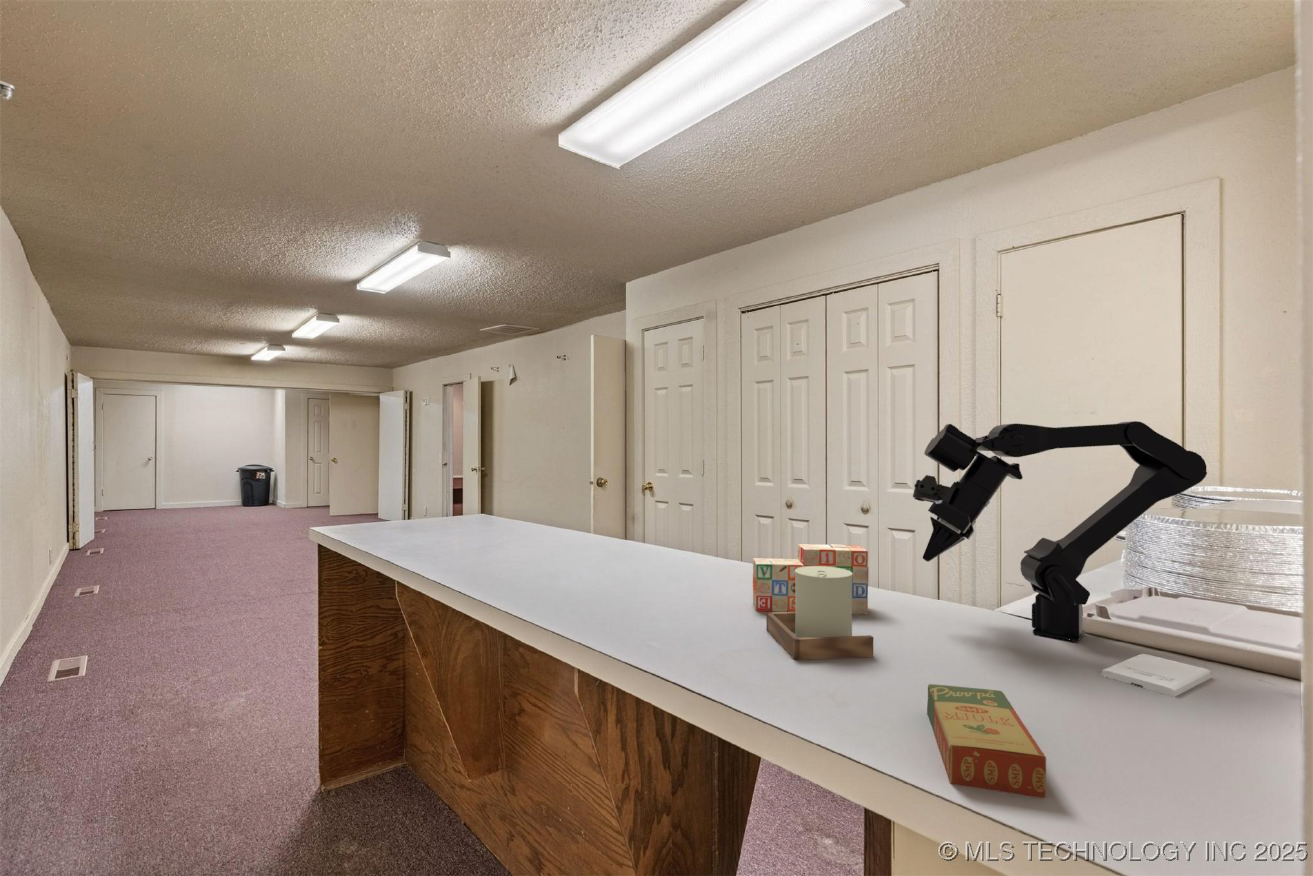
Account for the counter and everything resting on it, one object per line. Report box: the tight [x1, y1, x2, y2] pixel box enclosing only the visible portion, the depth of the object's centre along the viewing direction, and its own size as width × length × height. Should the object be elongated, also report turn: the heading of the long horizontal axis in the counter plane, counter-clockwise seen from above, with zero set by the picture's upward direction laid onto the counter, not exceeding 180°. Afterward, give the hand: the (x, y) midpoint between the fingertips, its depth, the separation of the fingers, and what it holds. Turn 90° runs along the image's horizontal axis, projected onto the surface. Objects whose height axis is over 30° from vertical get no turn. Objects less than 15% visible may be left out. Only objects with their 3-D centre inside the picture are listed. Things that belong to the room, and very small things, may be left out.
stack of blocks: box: [752, 543, 870, 613], centre depth 119 cm, size 21×6×12 cm, turn 86°
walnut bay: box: [766, 611, 874, 661], centre depth 98 cm, size 12×15×3 cm
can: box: [794, 566, 853, 638], centre depth 99 cm, size 9×9×12 cm
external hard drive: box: [1101, 653, 1212, 698], centre depth 84 cm, size 2×8×12 cm
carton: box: [926, 683, 1047, 799], centre depth 64 cm, size 8×16×4 cm, turn 163°
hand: (925, 560), depth 107 cm, fingers closed
